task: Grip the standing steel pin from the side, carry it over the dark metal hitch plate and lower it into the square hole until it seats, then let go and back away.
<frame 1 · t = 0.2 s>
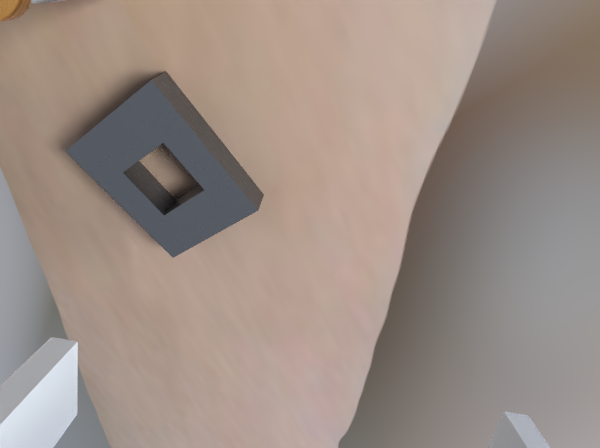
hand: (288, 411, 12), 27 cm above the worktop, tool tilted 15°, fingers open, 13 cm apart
hitch plate: (175, 167, 38), on the worktop
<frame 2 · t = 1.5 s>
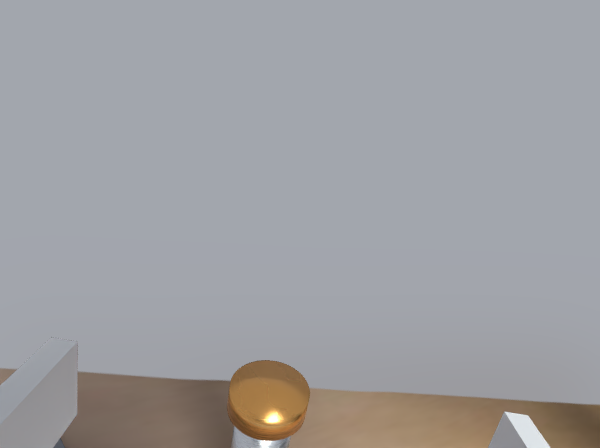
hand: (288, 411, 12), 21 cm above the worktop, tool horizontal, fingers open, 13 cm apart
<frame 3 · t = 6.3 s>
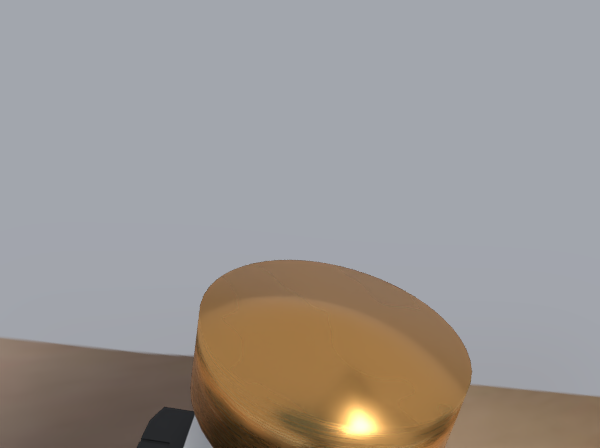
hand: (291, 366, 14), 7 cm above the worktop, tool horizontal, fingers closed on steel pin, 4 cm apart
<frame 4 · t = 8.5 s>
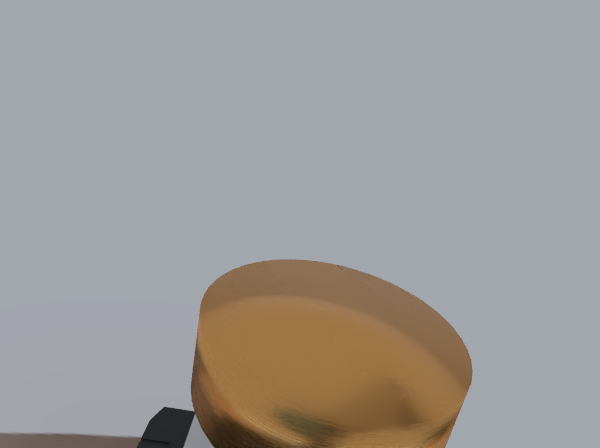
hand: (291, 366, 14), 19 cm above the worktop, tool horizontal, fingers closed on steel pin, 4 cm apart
when the fingers open (9 cm above the worktop, at t = 10.9 s): steel pin drops 2 cm, resting in hitch plate.
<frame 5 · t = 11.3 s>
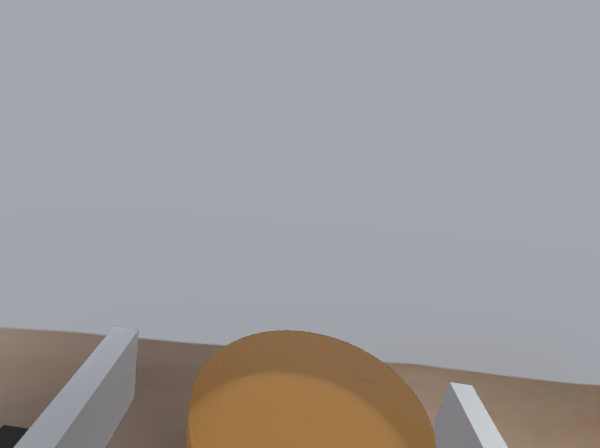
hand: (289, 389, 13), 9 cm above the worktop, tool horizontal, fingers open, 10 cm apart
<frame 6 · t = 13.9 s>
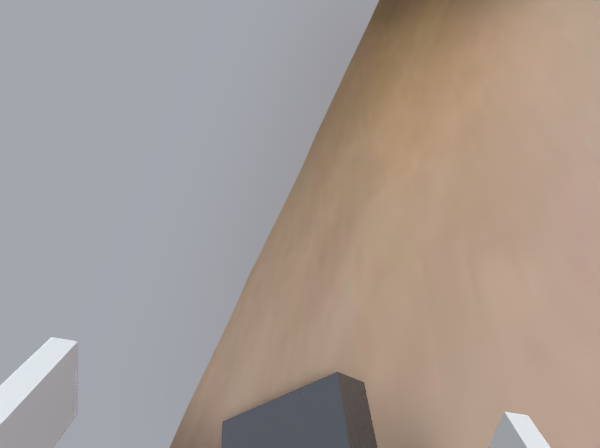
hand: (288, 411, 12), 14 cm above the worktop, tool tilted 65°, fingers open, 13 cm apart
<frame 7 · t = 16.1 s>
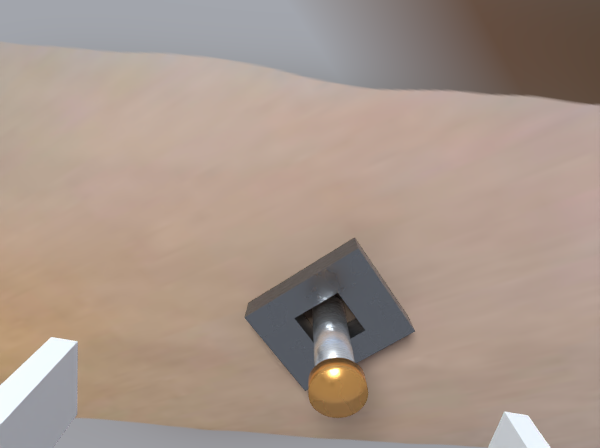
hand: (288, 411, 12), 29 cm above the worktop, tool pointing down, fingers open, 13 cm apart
hitch plate: (328, 309, 43), on the worktop
steel pin: (328, 309, 43), resting in hitch plate
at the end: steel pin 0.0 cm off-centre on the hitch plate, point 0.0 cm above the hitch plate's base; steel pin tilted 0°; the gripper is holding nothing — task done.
